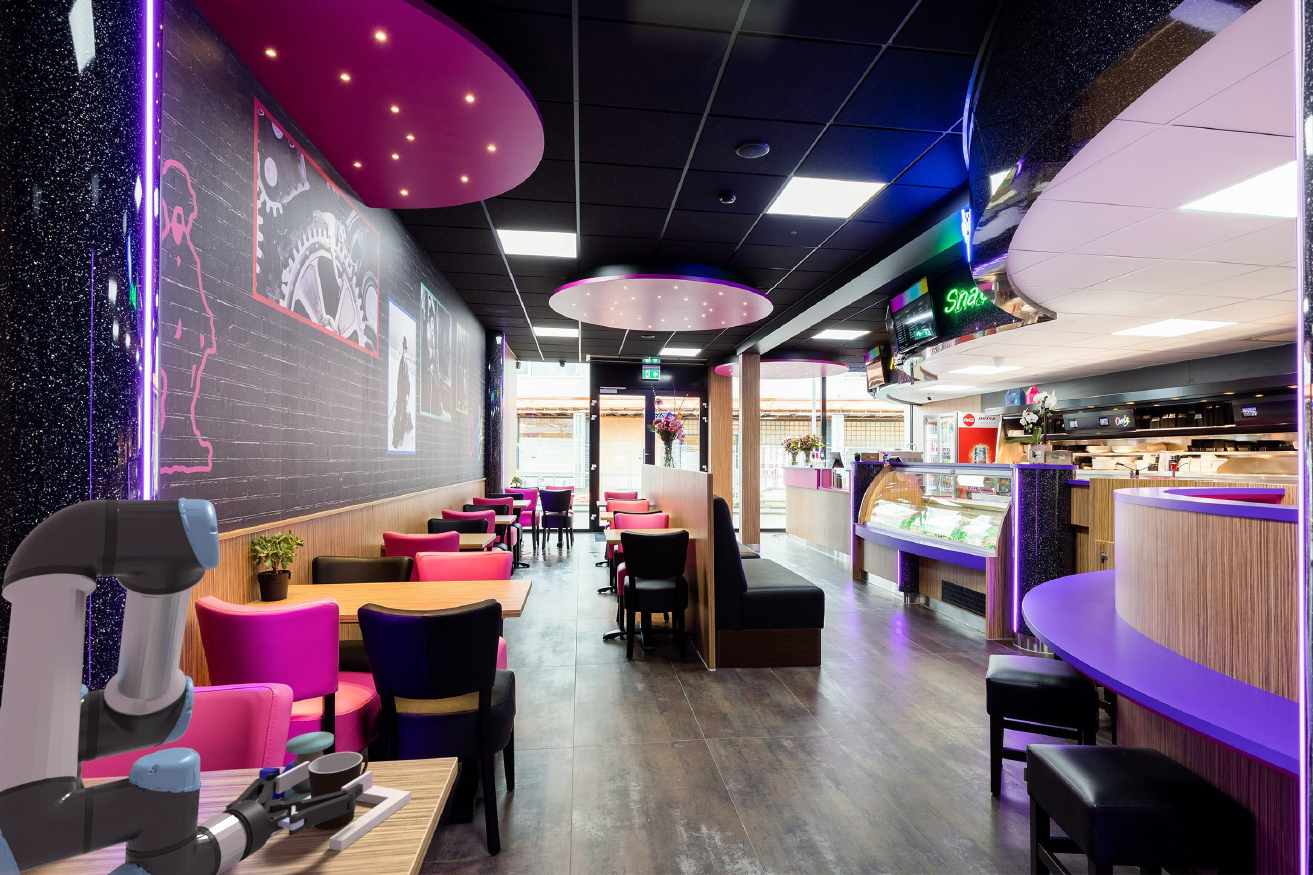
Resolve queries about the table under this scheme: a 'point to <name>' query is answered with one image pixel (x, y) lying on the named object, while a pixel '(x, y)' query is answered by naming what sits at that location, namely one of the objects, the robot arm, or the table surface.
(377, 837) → the table surface
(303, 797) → the bobbin
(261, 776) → the cable clip
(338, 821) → the coffee mug
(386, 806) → the u-shaped bracket
